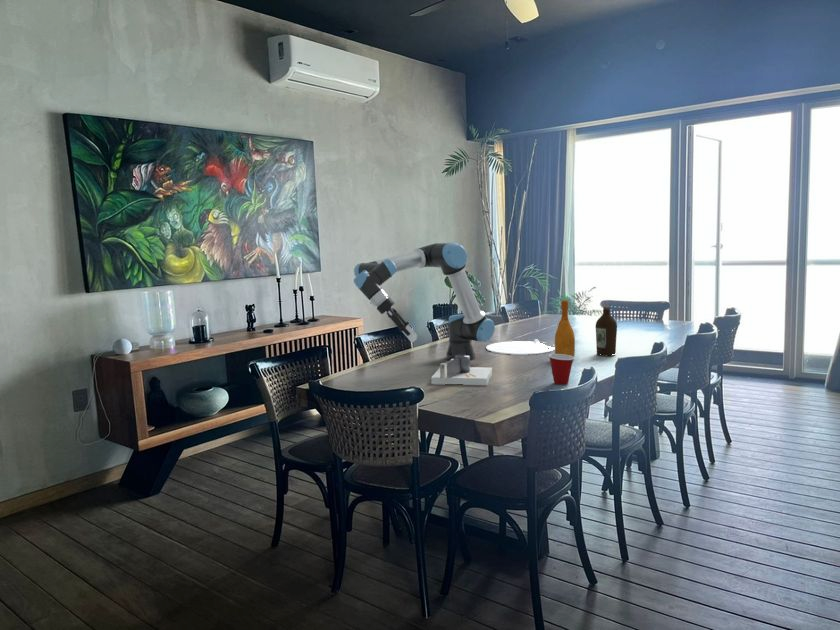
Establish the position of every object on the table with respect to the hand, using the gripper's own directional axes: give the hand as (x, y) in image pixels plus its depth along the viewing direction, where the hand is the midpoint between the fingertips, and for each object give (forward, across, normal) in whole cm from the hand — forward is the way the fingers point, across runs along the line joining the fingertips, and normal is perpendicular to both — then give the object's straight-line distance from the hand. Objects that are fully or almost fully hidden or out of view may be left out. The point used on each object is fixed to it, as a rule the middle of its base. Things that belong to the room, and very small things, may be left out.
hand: (415, 339), depth 263 cm
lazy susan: (+48, -80, +34) cm, 100 cm away
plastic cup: (+55, +3, +35) cm, 65 cm away
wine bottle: (+60, -47, +46) cm, 89 cm away
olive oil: (+74, -56, +64) cm, 113 cm away
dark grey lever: (+23, -4, +3) cm, 24 cm away
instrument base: (+28, -10, +4) cm, 30 cm away
